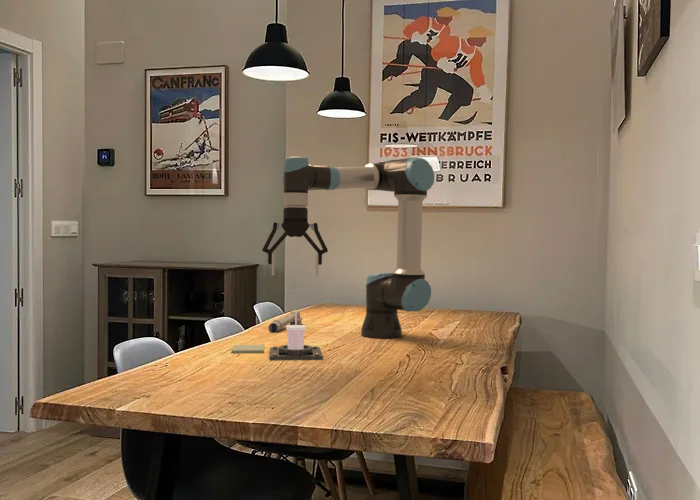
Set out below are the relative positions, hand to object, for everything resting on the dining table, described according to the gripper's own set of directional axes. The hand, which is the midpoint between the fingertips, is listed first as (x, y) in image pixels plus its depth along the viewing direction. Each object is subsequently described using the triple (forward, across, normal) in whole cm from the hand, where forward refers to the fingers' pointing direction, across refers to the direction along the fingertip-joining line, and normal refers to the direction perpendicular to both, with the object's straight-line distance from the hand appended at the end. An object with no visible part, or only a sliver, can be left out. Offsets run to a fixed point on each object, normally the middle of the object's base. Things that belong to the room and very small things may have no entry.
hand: (294, 275), depth 217 cm
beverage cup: (+25, 0, 0) cm, 25 cm away
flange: (+25, 0, 0) cm, 25 cm away
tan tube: (+25, +2, -58) cm, 63 cm away
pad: (+25, +15, -8) cm, 30 cm away
